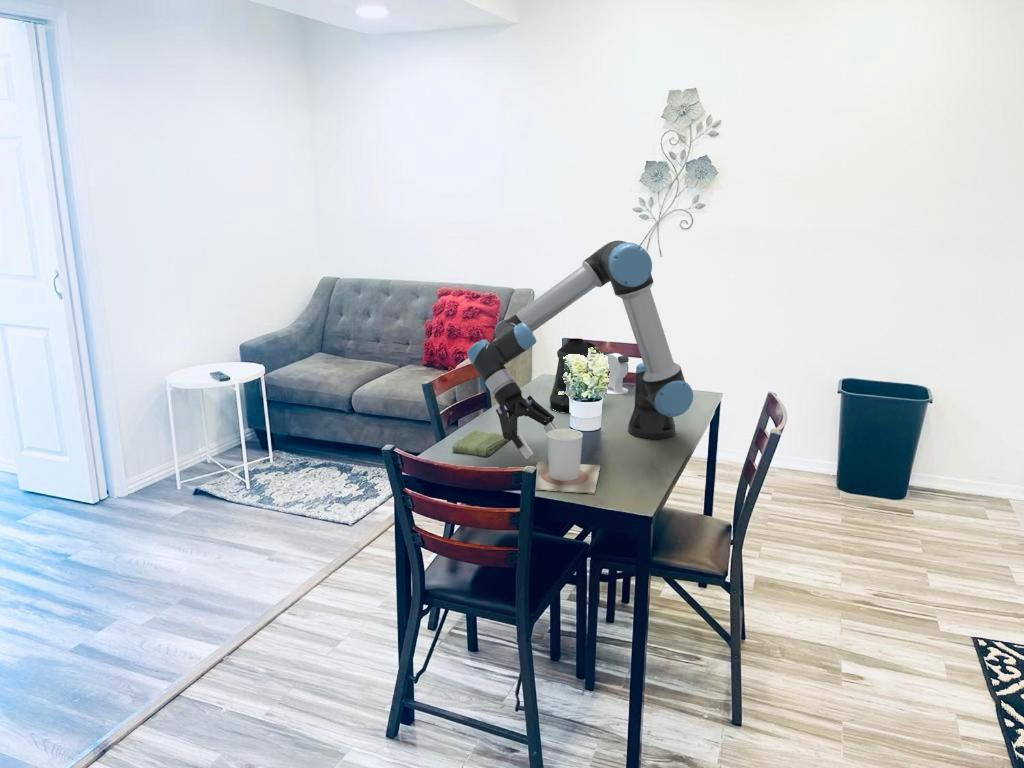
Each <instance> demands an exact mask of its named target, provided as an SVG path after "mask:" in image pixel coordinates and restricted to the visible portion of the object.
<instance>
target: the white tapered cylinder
mask: <svg viewBox="0 0 1024 768" xmlns="http://www.w3.org/2000/svg"><path fill="white" fill-rule="evenodd" d="M546 438H547V439H546V441H547V443H546V444H547V460H548V461H547V462H548V463H549V475H550V477H551V478H553V479H555V480H559V481H571V480H575V479H577V478H578V477H579V475H580V464H582V463H581V462H582V461H581V460H582V448H583V438H584V434H583V432H581V431H579V430H577V429H571V428H556V429H555V430H551V431H549V432H548V433H547V432H546Z"/></svg>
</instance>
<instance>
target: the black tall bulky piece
mask: <svg viewBox="0 0 1024 768" xmlns="http://www.w3.org/2000/svg"><path fill="white" fill-rule="evenodd" d="M589 347H593V348H594V349H595V350H596V351H597V352H599V353H601V351H599V350H597V349H596V346H595V344H593V343H591V342H589V341H585V342H584V340H583V338H577V337H576V338H570V339H568V340H567V342H566V343H565V344H564V345H562V347H560V348H559V349H558V350H557V352H556V354H557V358H558V361H557V367H556V374H555V378H554V384H553V387H552V389H551V390H552V391H551V392H550V395H549V403H550V409H552V410H553V409H554V410H556V411H555V412H557V411H559V412H558V413H560V412H565V413H564V414H570V413H569V398H568V396H567V395H566V394H564V395H558V392H559V391H564V392H565V391H566V384H565V383H564V380H563V378H562V376H563V374H564V373H565V370H564V362H563V356H564V357H565V356H566V355H568V354H580V355H584V356H585V357H587V355H588V348H589ZM554 410H553V411H554Z"/></svg>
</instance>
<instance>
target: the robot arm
mask: <svg viewBox="0 0 1024 768" xmlns="http://www.w3.org/2000/svg"><path fill="white" fill-rule="evenodd" d="M652 270H653V262H652V258H651V256H650V254H649V253H648V251H647V250H646V249H645V248H644V247H642V246H641V245H639V244H637V243H635V242H626V241H623V240H613V241H610V242H608V243H605V245H603V246H601V247H600V248H598V250H596V251H595V252H593V253H592V254H591V255H589V256H588V257H586V258H585V259H584V260H583V261H582V264H581V266H580V267H579V268H577V269H576V270H574V271H573V272H572V273H570V274H569V275H568V276H566V277H565V278H563V279H562V280H561V281H559V282H558V283H556V284H555V285H554V286H553V287H551V288H549V289H548V290H547V291H545V292H544V293H543V294H541V295H540V296H538V297H537V298H536V299H535V300H533V301H531V302H530V303H528V304H527V305H525V306H524V307H523V308H522V309H520V310H519V311H518V312H516V313H515V314H514V315H512V316H511V317H509V318H507V319H503V320H501V321H499V322H498V323H497V324H496V326H495V329H494V335H495V340H493V341H492V342H489V341H488V339H481V340H479V341H477V342H475V343H474V344H472V345H471V346H470V347H469V348H468V350H467V352H466V356H467V357H468V359H469V361H470V363H471V365H472V366H473V368H474V369H475V371H476V372H477V374H478V375H479V378H481V379H482V381H483V382H484V384H485V385H486V387H487V389H488V390H489V392H490V393H491V395H493V399H495V401H496V402H497V404H498V405H499V406H498V407H497V408H496V409H495V412H496V414H497V415H498V419H499V423H500V428H501V433H502V435H503V437H504V439H508V440H507V442H513V444H514V446H515V447H516V448H517V449H519V451H520V452H521V454H522V455H523V457H524V458H525V460H528V459H529V458H531V457H532V455H533V454H534V452H533V450H532V449H531V447H530V446H529V445H528V444H527V442H526V440H525V439H524V437H523V436H522V434H521V433H518V418H519V417H523V416H524V417H529V418H530V419H532V420H534V421H535V422H538V423H539V424H540V425H543V426H544V427H543V429H544V431H545V432H546V434H547V433H548V432H549V431H551V430H555V429H557V428H556V427H555V424H553V422H554V419H555V415H553V414H552V413H551V412H549V411H548V410H547V409H545V408H544V407H543V406H542V405H541V404H539V403H538V402H537V401H536V400H535V399H534V398H533V396H532V395H528V396H527V397H526V398H524V397H523V395H522V390H521V388H520V387H519V385H518V384H517V382H515V379H514V377H513V375H511V373H510V371H509V370H508V369H507V368H506V366H505V365H507V364H509V363H510V362H511V361H512V360H514V359H516V358H517V357H519V356H520V355H522V354H523V353H525V352H526V351H529V350H530V348H532V347H533V346H534V345H535V344H536V343H537V339H536V337H535V335H534V333H533V332H534V331H536V330H537V329H538V328H540V327H542V326H543V325H544V324H545V323H547V322H549V321H550V320H552V319H553V318H554V317H556V316H557V315H558V314H559V313H561V312H562V311H564V310H566V309H567V308H568V307H570V306H571V305H572V304H574V303H575V302H577V301H578V300H579V299H581V298H583V297H584V296H585V295H586V294H588V293H590V291H592V290H593V289H595V288H597V287H598V288H602V287H604V285H607V283H609V282H610V283H611V286H612V290H613V293H614V296H616V297H619V298H621V300H622V302H623V305H624V306H623V307H624V310H625V312H626V315H627V318H628V321H629V323H630V327H631V330H632V333H633V337H634V339H635V343H636V344H637V345H636V346H637V347H638V351H639V354H640V357H641V360H642V362H641V363H638V364H637V365H636V366H635V367H636V368H635V373H634V375H635V383H634V389H635V390H634V408H633V411H632V414H631V416H630V419H629V421H628V424H627V426H628V427H627V428H628V430H627V431H628V433H629V434H630V435H632V436H634V437H637V438H643V439H650V440H660V439H662V440H663V439H668V438H671V437H674V436H675V435H676V423H675V420H674V418H676V417H680V416H681V415H683V414H684V413H686V412H688V411H689V409H690V407H691V405H692V403H693V401H694V392H693V388H692V387H691V385H690V384H689V383H688V382H686V380H685V376H684V373H683V371H682V368H681V365H680V364H678V363H676V362H674V359H673V356H672V353H671V349H670V347H669V344H668V343H669V342H668V340H667V337H666V334H665V331H664V328H663V325H662V321H661V318H660V314H659V312H658V309H657V306H656V303H655V299H654V296H653V294H652V293H653V292H652V290H651V288H652V286H653V285H654V278H653V276H652Z"/></svg>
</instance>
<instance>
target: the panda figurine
mask: <svg viewBox="0 0 1024 768" xmlns="http://www.w3.org/2000/svg"><path fill="white" fill-rule="evenodd" d="M603 354H604V355H606V356H608V364H609V370H610V373H609V384H608V389H607V394H606V395H610V394H611V396H613V395H612V394H615V396H618V395H619V394H620V395H625V394H627V393H629V389H628V388H626V387H624V385H623V384H624V383H625V382H626V378H625V377H626V376H627V374H628V373H629V364H628V362H629V360H630V358H629V356H628V355H623V354H621V353H618V352H617V353H616V352H615V353H614V352H613V350H609V351H608V350H607V351H603ZM616 394H617V395H616ZM620 395H619V396H620Z"/></svg>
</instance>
